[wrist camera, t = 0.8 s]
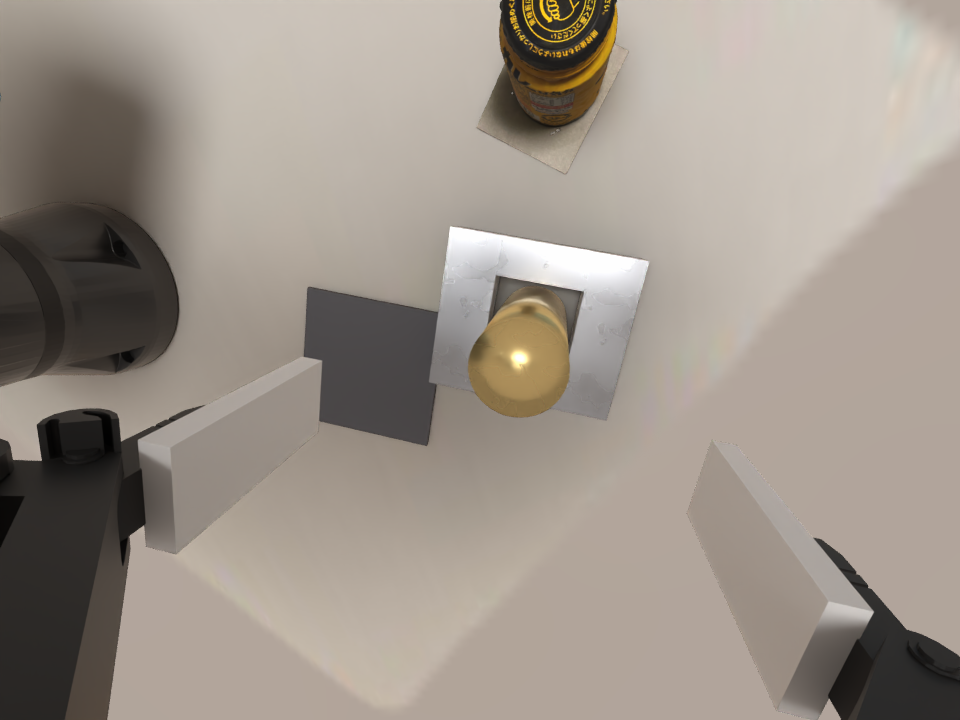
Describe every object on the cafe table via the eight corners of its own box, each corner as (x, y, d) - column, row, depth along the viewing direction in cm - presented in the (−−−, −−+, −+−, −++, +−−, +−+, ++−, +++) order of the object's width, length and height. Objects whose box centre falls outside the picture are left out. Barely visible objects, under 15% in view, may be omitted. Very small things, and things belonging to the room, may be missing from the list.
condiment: (628, 52, 31) (668, -50, 20) (565, 174, 34) (568, 147, 22) (532, 2, 31) (516, -128, 20) (477, 128, 34) (435, 78, 22)
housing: (438, 371, 39) (428, 382, 37) (459, 226, 36) (450, 226, 33) (602, 406, 38) (606, 420, 35) (641, 258, 34) (649, 261, 31)
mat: (303, 415, 43) (300, 416, 42) (309, 286, 39) (307, 287, 39) (427, 443, 41) (426, 445, 41) (446, 314, 38) (445, 314, 38)
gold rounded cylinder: (495, 343, 38) (461, 405, 25) (506, 280, 36) (476, 310, 23) (558, 356, 37) (557, 427, 24) (572, 292, 36) (580, 331, 22)
